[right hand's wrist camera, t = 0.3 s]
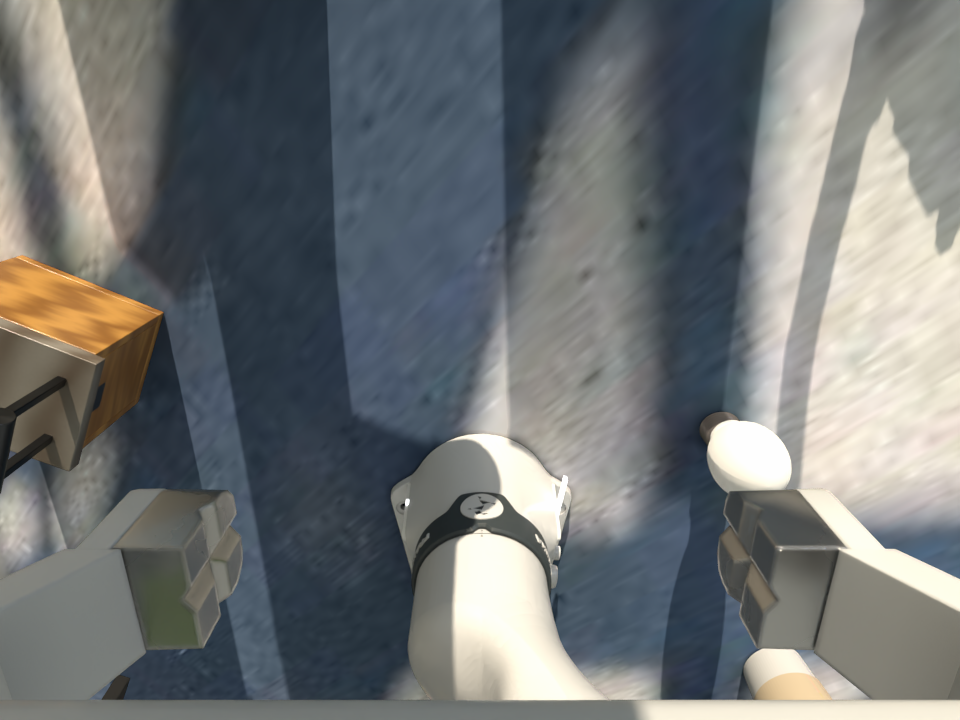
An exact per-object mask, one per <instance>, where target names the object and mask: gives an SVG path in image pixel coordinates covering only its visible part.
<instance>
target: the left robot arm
mask: <svg viewBox="0 0 960 720" xmlns="http://www.w3.org/2000/svg"><path fill="white" fill-rule="evenodd" d="M129 680H130V678H128V677H125V676H121V675H118V676H117V677H116V678H115V680H114V681H113V683H112V684H111V686H110V687H109V689H108V690H107V692H106V693H105V695H104V697H103V698H102V700H123V698H124V695H125V692H126V689H127V686H128V683H129Z"/></svg>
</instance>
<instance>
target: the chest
mask: <svg viewBox="0 0 960 720" xmlns="http://www.w3.org/2000/svg"><path fill="white" fill-rule="evenodd" d="M162 317H163V312H161V311H159V310H156V309H154V308H151V307H149V306H147V305H144V304H142V303H139V302H137V301H134V300H132V299H129V298H127V297H124V296H122V295H119V294H117V293H114V292H112V291H109V290H107V289H104V288H102V287H99V286H97V285H95V284H92V283H90V282H87V281H85V280H82V279H80V278H77V277H75V276H72V275H70V274H67V273H65V272H62V271H60V270H57V269H55V268H52V267H50V266H47V265H45V264H43V263H40V262H38V261H35V260H33V259H30V258H28V257H25V256H23V255H21V256H18V257H16V258H12V259H8V260H5V261H2V262H0V318H2V319H4V320H7V321H9V322H12V323H15V324H17V325H20V326H22V327H25V328H27V329H30V330H33V331H35V332H38V333H40V334H43V335H46V336H48V337H51V338H53V339H56V340H58V341H61V342H64V343H66V344H69V345H71V346H74V347H77V348H79V349H82V350H84V351H87V352H89V353H92V354H95V355H97V356H100V357H102V358H105V363H104V367H103V371H102V375H101V379H100V382H99V386H98V390H97V394H96V398H95V402H94V406H93V410H92V413H91V417H90V421H89V425H88V429H87V433H86V437H85V440H84V444H83V448H84V447H85V446H86V445H87V444H89V443H90V442H91V441H92V440H93V439H95V438H96V437H97V436H98V435H99V434H101V433H102V432H103V431H104V430H105V429H107V428H108V427H109V426H110V425H111V424H113V423H114V422H115V421H116V420H117V419H119V418H120V417H121V416H122V415H123V414H125V413H126V412H127V411H128V410H129V409H131V408H132V407H133V406H134V405H135V404H137V403H138V401H139V397H140V394H141V390H142V387H143V383H144V380H145V376H146V373H147V369H148V366H149V362H150V359H151V355H152V352H153V348H154V345H155V341H156V338H157V334H158V331H159V327H160V324H161V320H162ZM83 448H82V449H83Z"/></svg>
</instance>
